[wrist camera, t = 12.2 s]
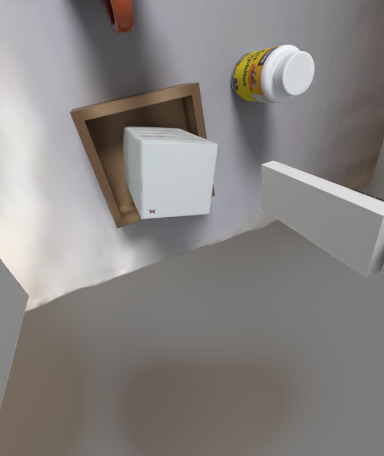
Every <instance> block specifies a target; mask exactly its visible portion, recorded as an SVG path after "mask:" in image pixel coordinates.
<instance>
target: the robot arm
mask: <svg viewBox="0 0 384 456" xmlns="http://www.w3.org/2000/svg"><path fill="white" fill-rule="evenodd" d="M261 166H262V209H263V210H265V211H266V212H268V213H269V214H271V215H272V216H274V217H275V218H277V219H278V220H280V221H281V222H283V223H284V224H286V225H287V226H289V227H290V228H292V229H293V230H295V231H297V232H298V233H299V234H301V235H303V236H304V237H305V238H307V239H308V240H310V241H311V242H313V243H314V244H316V245H318V246H319V247H320V248H322V249H324V250H325V251H327V252H328V253H330V254H331V255H333V256H334V257H336V258H337V259H339V260H340V261H342V262H343V263H345V264H346V265H348V266H349V267H351V268H352V269H354V270H355V271H357V272H358V273H360V274H361V275H363V276H364V277H368V276H370V275H372V274H374V273H376V272H378V271H380V270H381V269H382V266H383V262H384V200H382V199H379V198H377V197H376V198H374V197H373V196H371V195H368V194H364V193H363V192H360V191H358V190H355V189H352V188H346V187H343V186H340V185H337V184H335V183H332V182H329V181H327V180H324V179H321V178H319V177H316V176H313V175H311V174H308V173H305V172H303V171H300V170H297V169H295V168H292V167H289V166H287V165H284V164H281V163H279V162H276V161H271V162H268V163H265V164H261ZM28 297H29V296H28V294H27V293H26V292H25V290H24V289H23V288H22V286H21V285H20V284H19V283H18V281H17V280H16V279H15V277H14V276H13V275H12V273H11V272H10V271H9V270H8V268H7V267H6V266H5V264H4V263H3V262H2V260H1V259H0V409H1V405H2V401H3V397H4V393H5V389H6V385H7V381H8V377H9V373H10V369H11V365H12V361H13V357H14V353H15V349H16V345H17V341H18V337H19V333H20V329H21V325H22V321H23V317H24V313H25V309H26V305H27V301H28Z"/></svg>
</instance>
